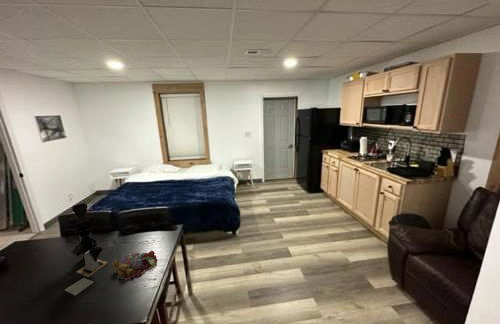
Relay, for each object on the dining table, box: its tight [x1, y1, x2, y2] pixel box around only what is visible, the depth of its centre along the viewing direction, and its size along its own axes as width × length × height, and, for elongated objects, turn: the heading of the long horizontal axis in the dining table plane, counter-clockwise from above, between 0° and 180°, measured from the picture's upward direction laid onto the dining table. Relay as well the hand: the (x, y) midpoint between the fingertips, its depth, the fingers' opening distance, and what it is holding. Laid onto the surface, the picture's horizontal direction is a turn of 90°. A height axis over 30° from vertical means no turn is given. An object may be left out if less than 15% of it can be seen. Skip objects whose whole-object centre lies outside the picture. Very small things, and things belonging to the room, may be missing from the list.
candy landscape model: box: [111, 250, 158, 281], centre depth 138 cm, size 25×24×9 cm
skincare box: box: [83, 250, 100, 272], centre depth 137 cm, size 6×4×12 cm
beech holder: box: [76, 258, 109, 278], centre depth 138 cm, size 12×13×1 cm
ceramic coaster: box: [64, 277, 95, 296], centre depth 123 cm, size 10×10×1 cm
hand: (91, 259), depth 137 cm, fingers open, 9 cm apart
